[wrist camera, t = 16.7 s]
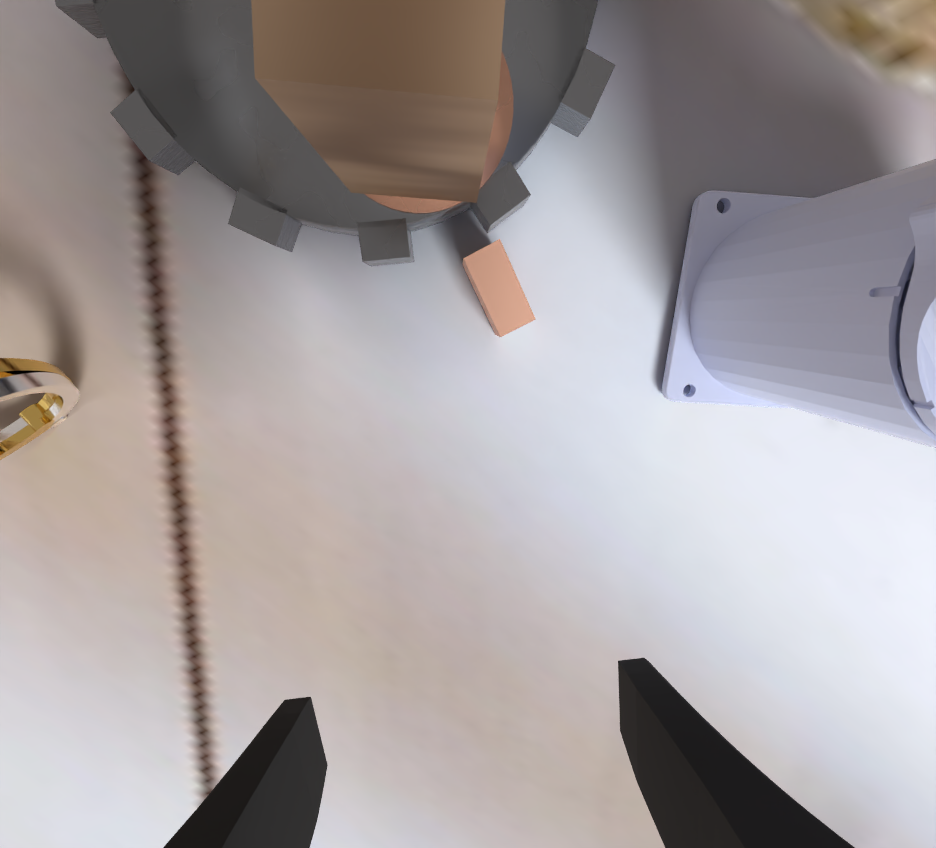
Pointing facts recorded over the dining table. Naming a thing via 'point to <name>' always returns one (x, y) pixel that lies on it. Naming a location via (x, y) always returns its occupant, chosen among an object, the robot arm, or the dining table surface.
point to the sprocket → (285, 148)
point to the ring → (60, 398)
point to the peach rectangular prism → (498, 288)
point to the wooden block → (387, 87)
